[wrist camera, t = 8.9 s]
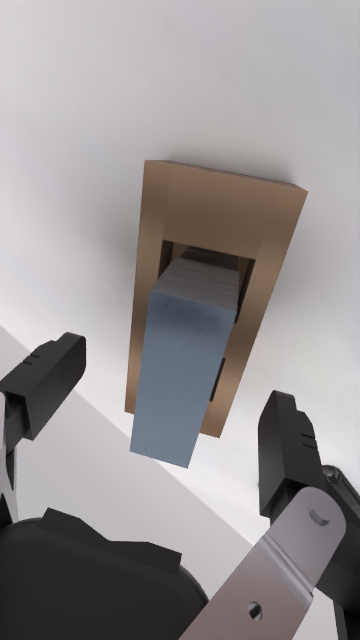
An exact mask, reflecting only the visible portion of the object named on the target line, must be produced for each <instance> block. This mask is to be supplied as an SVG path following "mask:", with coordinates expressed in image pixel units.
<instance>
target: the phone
mask: <svg viewBox="0 0 360 640" xmlns="http://www.w3.org/2000/svg"><path fill="white" fill-rule="evenodd" d="M322 469H323V474H324V478H325V482H326V487H327V491H328V494H329V496H330V497H331V498H332V499H333V500H334V501H335V502H336V503H337V504H338V506H339V507H340V509H341V511H342V513H343V515H344V518H345V519H346V520H348V521H349V522H350V523H351V524H353V525H354V526H356V527H357V528H359V529H360V496H359V495H358V493H357V492H356V491H355V489H354V488H353V487H352V485H351V484H350V483H349V481H348V480H347V479H346V477H345V476H344V475H343V473H342V472H341V471H340V470H339V469H338V468H336V467H334V466H329V465H324V466H322Z"/></svg>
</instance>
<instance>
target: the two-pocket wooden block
mask: <svg viewBox="0 0 360 640" xmlns="http://www.w3.org/2000/svg"><path fill="white" fill-rule="evenodd" d="M307 194H308V191H306V190H304V189H302V188H300V187H298V186H296V185H294V184H289V183H284V182H279V181H273V180H268V179H263V178H257V177H252V176H247V175H241V174H236V173H231V172H226V171H220V170H215V169H210V168H204V167H199V166H194V165H189V164H183V163H178V162H173V161H167V160H145V164H144V176H143V189H142V201H141V213H140V226H139V238H138V250H137V263H136V275H135V287H134V300H133V312H132V325H131V337H130V349H129V362H128V374H127V386H126V399H125V411H124V412H128V413H131V414H134V413H135V405H136V397H137V389H138V381H139V373H140V365H141V357H142V349H143V341H144V334H145V326H146V318H147V310H148V302H149V294H150V290H151V288H152V287H153V286H154V284H155V283H156V282H157V280H158V279H159V278H160V276H161V275H162V274H163V272H164V271H165V270H166V268H167V267H168V266H169V264H170V263H171V262H172V260H173V259H174V258H175V257H179V258H180V257H181V255H182V254H183V252H184V251H185V250H186V248H187V247H188V245H190V246H195V247H199V248H204V249H208V250H212V251H217V252H221V253H225V254H230V255H234V256H238V257H239V259H238V270H237V271H239V288H238V303H237V313H236V317H235V320H234V323H233V326H232V329H231V332H230V336H229V339H228V342H227V345H226V348H225V351H224V355H223V358H222V361H221V364H220V367H219V371H218V374H217V377H216V380H215V383H214V386H213V390H212V393H211V396H210V399H209V402H208V405H207V409H206V412H205V415H204V418H203V421H202V424H201V428H200V431H199V433H202V434H206V435H209V436H213V437H217V438H220V436H221V433H222V430H223V427H224V425H225V422H226V419H227V416H228V413H229V411H230V408H231V405H232V402H233V400H234V397H235V394H236V391H237V388H238V386H239V383H240V380H241V377H242V374H243V372H244V369H245V366H246V363H247V361H248V358H249V355H250V352H251V349H252V347H253V344H254V341H255V338H256V336H257V333H258V330H259V327H260V324H261V322H262V319H263V316H264V313H265V310H266V308H267V305H268V302H269V299H270V297H271V294H272V291H273V288H274V285H275V283H276V280H277V277H278V274H279V272H280V269H281V266H282V263H283V260H284V258H285V255H286V252H287V249H288V246H289V244H290V241H291V238H292V235H293V233H294V230H295V227H296V224H297V221H298V219H299V216H300V213H301V210H302V208H303V205H304V202H305V199H306V196H307Z"/></svg>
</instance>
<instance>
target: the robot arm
mask: <svg viewBox="0 0 360 640" xmlns="http://www.w3.org/2000/svg"><path fill="white" fill-rule="evenodd" d="M85 368H86V339H85V337H84V336H80V335H77V334H73V333H69V332H66V333H64V334H63V335H62V336H61V337H60V338H59V339H58V340H57V341H53V340H51V341H49V342H47V343H44V344H42V345H40V346H39V347H37V348H36V349H35V350H34V351H33V352H32V353H31V354H30V356H27V357H26V358H25V359H24V360H23V362H22V363H20V364H19V365H17V366H16V367H15V368H14V369H13V370H12V371H11V372H10V373H9V374H7V375H6V376H5V377H4V378H3V379H2V380H1V381H0V640H292V638H293V637H294V635H295V633H296V631H297V629H298V627H299V626H300V624H301V622H302V620H303V618H304V617H305V615H306V613H307V611H308V609H309V607H310V605H311V603H312V601H313V595H312V592H313V589H314V587H316V588H317V589H318V590H320V591H321V592H323V593H324V594H325V595H326V596H328V597H329V598H330V599H332V600H333V605H334V612H335V619H336V627H337V634H338V640H360V529H359V528H357V527H356V526H354V525H353V524H351V523H350V522H349V521H348V520H346V519H345V518H344V515H343V513H342V511H341V509H340V507H339V506H338V504H337V503H336V502H335V501H334V500H333V499H332V498H331V497H330V496H329V494H328V491H327V487H326V482H325V478H324V474H323V469H322V465H321V460H320V456H319V451H318V450H317V449H318V447H317V442H316V440H315V434H314V429H313V425H312V423H311V422H310V420H309V418H308V417H307V415H306V414H305V412H301V411H298V410H297V409H296V403H295V398H294V396H293V395H290V394H287V393H283V392H279V391H276V390H273V391H272V393H271V395H270V397H269V399H268V401H267V403H266V405H265V407H264V410H263V412H262V414H261V416H260V419H259V424H258V459H259V505H260V515H261V516H264V517H267V518H270V528H269V529H268V530H267V532H266V533H265V534H264V535H263V536H262V537H261V538H260V540H259V541H258V542H257V543H256V544H255V546H254V547H253V548H252V549H251V551H250V552H249V553H248V554H247V556H246V557H245V558H244V559H243V560H242V562H241V563H240V564H239V566H238V567H237V568H236V569H235V570H234V572H233V573H232V574H231V575H230V576H229V578H228V579H227V580H226V581H225V583H224V584H223V585H222V586H221V588H220V589H219V590H218V591H217V592H216V594H215V595H214V596H213V598H212V599H211V600H210V601H209V599H208V597H207V596H206V594H205V592H204V590H203V589H202V587H201V586H200V584H199V583H198V582H197V581H196V579H195V578H194V577H193V576H192V575H191V574H190V573H189V572H188V571H187V570H186V569H185V568H184V567H183V566H181V565H180V561H181V555H182V554H181V553H179V552H176V551H173V550H170V549H167V548H164V547H161V546H158V545H155V544H153V543H149V542H130V541H110V540H107V539H106V538H104V537H103V536H102V535H101V534H99V533H98V532H97V531H95V530H94V529H93V528H92V527H90V526H89V525H88V524H86V523H85V522H84V521H82V520H81V519H80V518H77V517H74V516H71V515H69V514H65V513H63V512H60V511H57V510H54V509H51V508H47V510H46V512H45V514H44V515H43V517H42V518H30V519H26V520H22V521H18V511H17V503H16V455H17V453H16V451H17V450H16V445H17V444H18V442H19V441H20V440H21V439H22V437H23V438H26V439H29V440H32V441H33V440H34V439H35V437H36V436H37V435H38V434H39V432H40V431H41V430H42V428H43V427H44V426H45V425H46V423H47V422H48V421H49V419H50V418H51V417H52V415H53V414H54V413H55V412H56V410H57V409H58V408H59V406H60V405H61V404H62V402H63V401H64V400H65V398H66V397H67V396H68V395H69V393H70V392H71V390H72V389H73V388H74V387H75V385H76V384H77V383H78V381H79V380H80V379H81V377H82V376H83V374H84V371H85Z"/></svg>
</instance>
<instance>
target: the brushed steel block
mask: <svg viewBox="0 0 360 640" xmlns="http://www.w3.org/2000/svg"><path fill="white" fill-rule="evenodd" d="M238 259H239V257H238V256H234V255H230V254H225V253H221V252H217V251H212V250H208V249H204V248H199V247H195V246H190V245H188V247H187V248H186V250H185V251H184V252H183V254H182V255H181V257H180V258H179V257H175V258H174V259H173V260H172V262H171V263H170V264H169V266H168V267H167V268H166V270H165V271H164V272H163V274H162V275H161V276H160V278H159V279H158V280H157V282H156V283H155V284H154V286H153V287H152V288H151V290H150V294H149V302H148V310H147V318H146V326H145V334H144V341H143V349H142V357H141V365H140V373H139V381H138V389H137V397H136V405H135V413H134V421H133V429H132V437H131V445H130V451H131V452H134V453H138V454H141V455H145V456H148V457H151V458H154V459H157V460H161V461H164V462H167V463H171V464H174V465H177V466H181V467H184V468H187V469H188V466H189V463H190V459H191V456H192V453H193V450H194V447H195V444H196V440H197V437H198V434H199V431H200V428H201V424H202V421H203V418H204V415H205V412H206V409H207V405H208V402H209V399H210V396H211V393H212V390H213V386H214V383H215V380H216V377H217V374H218V371H219V367H220V364H221V361H222V358H223V355H224V351H225V348H226V345H227V342H228V339H229V336H230V332H231V329H232V326H233V323H234V320H235V317H236V313H237V303H238V288H239V271H237V270H238Z"/></svg>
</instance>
